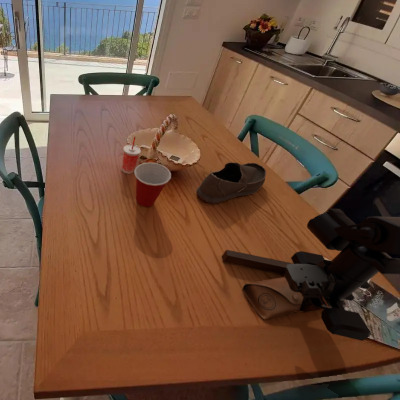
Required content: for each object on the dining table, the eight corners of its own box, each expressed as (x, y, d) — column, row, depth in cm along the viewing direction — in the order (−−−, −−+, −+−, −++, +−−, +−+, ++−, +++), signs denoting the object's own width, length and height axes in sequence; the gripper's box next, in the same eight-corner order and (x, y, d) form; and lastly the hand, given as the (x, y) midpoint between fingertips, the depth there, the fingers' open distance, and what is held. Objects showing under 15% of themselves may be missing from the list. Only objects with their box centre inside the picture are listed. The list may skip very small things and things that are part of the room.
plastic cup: (122, 193, 90) (128, 164, 82) (150, 188, 93) (158, 159, 85) (137, 216, 83) (146, 186, 75) (167, 209, 86) (178, 179, 78)
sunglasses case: (265, 322, 60) (268, 295, 58) (240, 304, 66) (242, 279, 65) (330, 308, 63) (334, 282, 61) (300, 292, 70) (303, 269, 68)
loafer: (269, 186, 98) (285, 162, 91) (216, 213, 86) (230, 188, 78) (242, 170, 104) (256, 146, 97) (190, 193, 92) (201, 168, 85)
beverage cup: (120, 164, 103) (126, 131, 94) (136, 166, 102) (144, 133, 93) (118, 173, 99) (125, 139, 89) (135, 176, 98) (143, 142, 88)
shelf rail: (328, 284, 68) (337, 278, 66) (222, 262, 72) (227, 255, 70) (325, 278, 70) (333, 271, 68) (221, 256, 73) (226, 249, 71)
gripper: (286, 227, 59) (253, 270, 69) (328, 302, 45) (278, 343, 55) (341, 237, 58) (299, 279, 68) (403, 319, 43) (338, 357, 53)
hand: (302, 311), depth 61 cm, fingers closed, pressing on sunglasses case
